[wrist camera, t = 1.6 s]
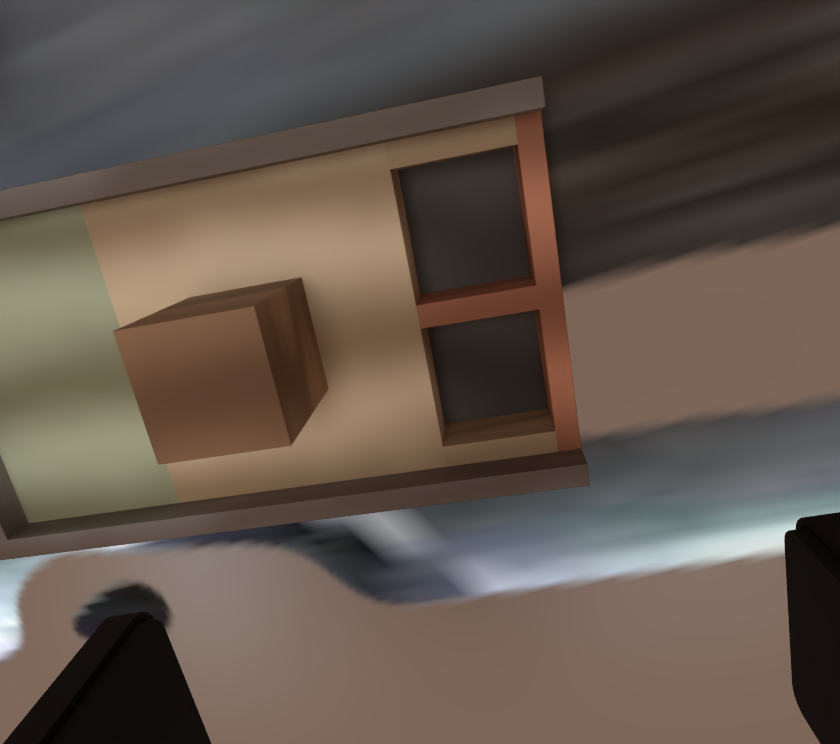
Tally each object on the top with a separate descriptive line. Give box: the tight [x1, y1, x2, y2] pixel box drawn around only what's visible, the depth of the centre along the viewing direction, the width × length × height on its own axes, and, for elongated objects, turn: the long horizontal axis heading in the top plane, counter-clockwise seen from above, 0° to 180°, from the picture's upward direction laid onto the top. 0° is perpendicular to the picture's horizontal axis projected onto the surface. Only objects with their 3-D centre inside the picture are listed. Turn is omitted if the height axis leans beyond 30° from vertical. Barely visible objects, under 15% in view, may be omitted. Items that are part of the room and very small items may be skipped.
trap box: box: [0, 76, 590, 560], centre depth 28 cm, size 16×28×4 cm, turn 101°
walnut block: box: [113, 277, 328, 465], centre depth 24 cm, size 5×5×6 cm
